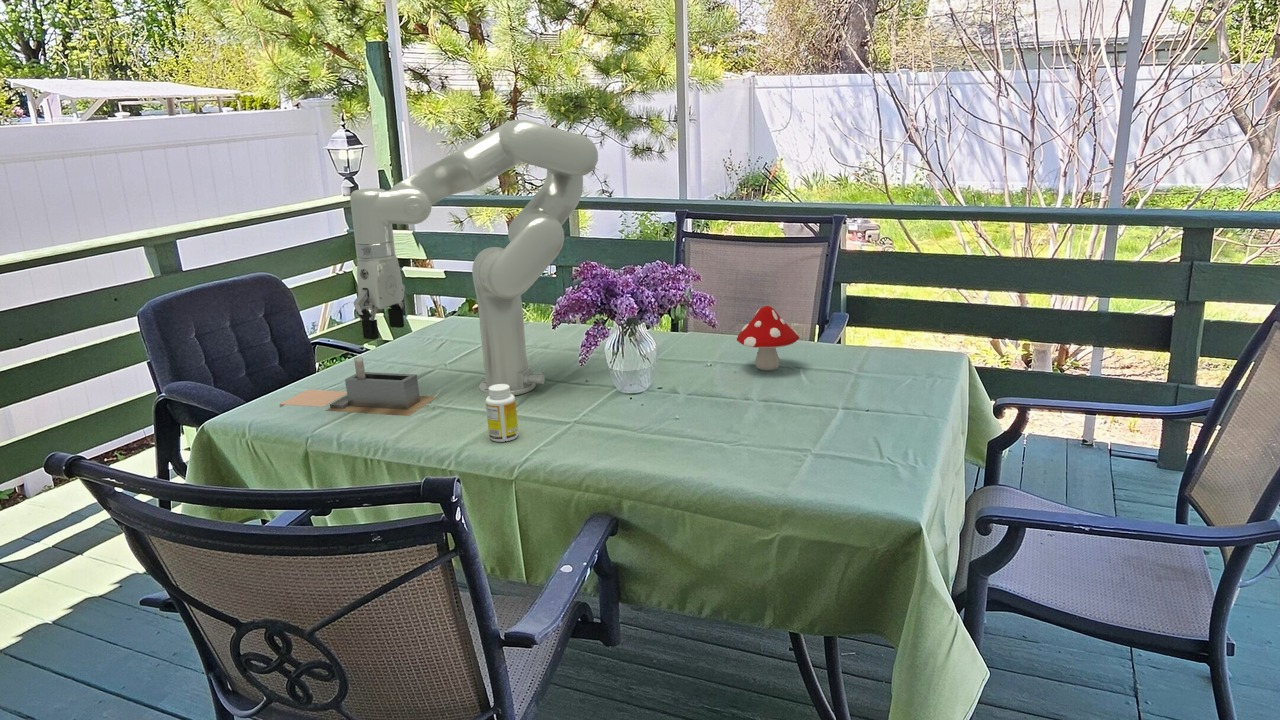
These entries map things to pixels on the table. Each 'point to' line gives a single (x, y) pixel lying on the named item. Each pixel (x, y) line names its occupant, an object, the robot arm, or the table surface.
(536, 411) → the table surface
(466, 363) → the table surface
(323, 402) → the terracotta tile
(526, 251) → the robot arm
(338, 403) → the post block
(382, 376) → the steel link
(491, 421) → the supplement bottle
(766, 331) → the decorative mushroom
